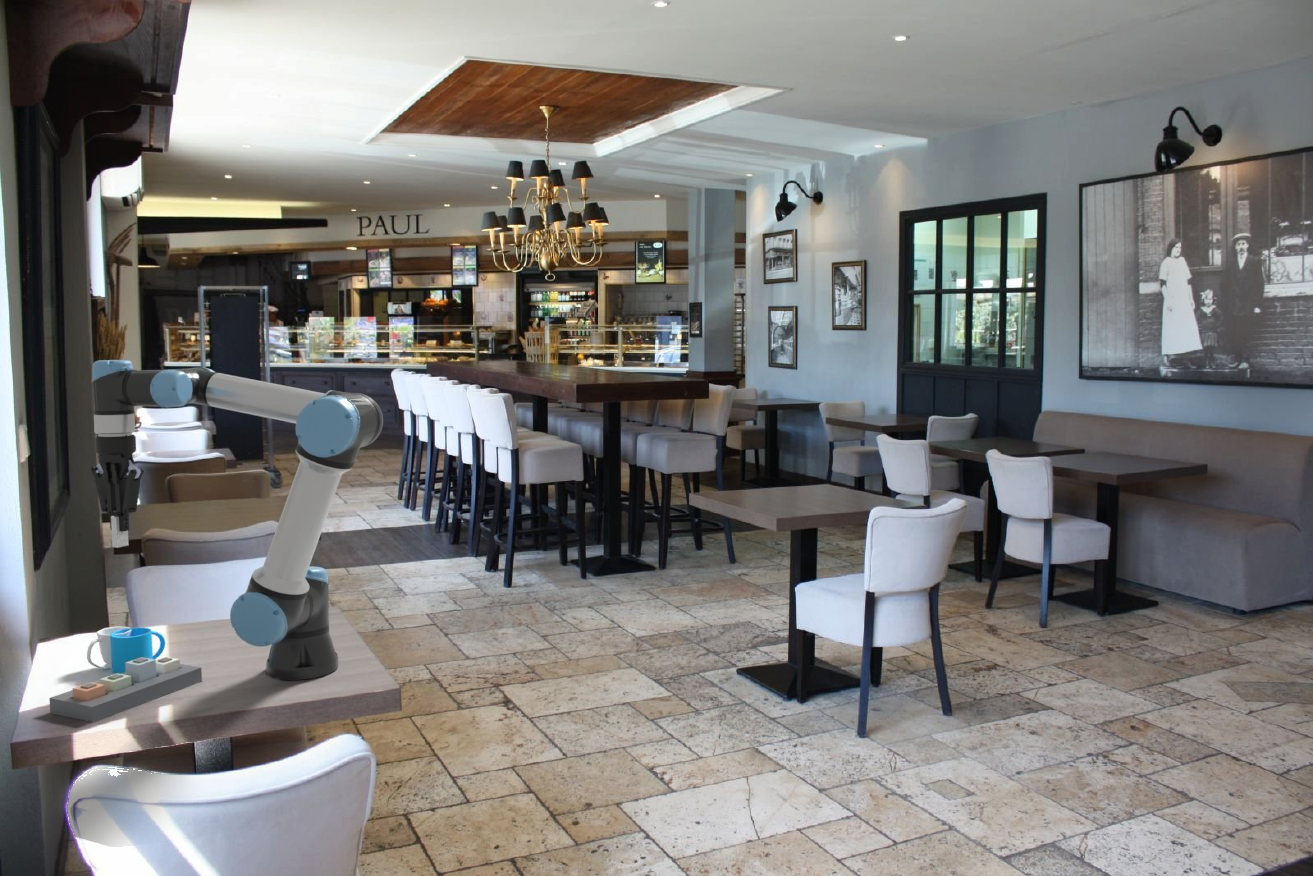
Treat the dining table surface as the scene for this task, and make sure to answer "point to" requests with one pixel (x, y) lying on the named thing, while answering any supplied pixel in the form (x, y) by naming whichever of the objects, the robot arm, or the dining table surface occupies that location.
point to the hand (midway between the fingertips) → (120, 546)
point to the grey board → (125, 695)
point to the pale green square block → (116, 682)
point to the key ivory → (167, 665)
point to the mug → (133, 647)
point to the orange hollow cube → (88, 691)
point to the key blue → (141, 669)
